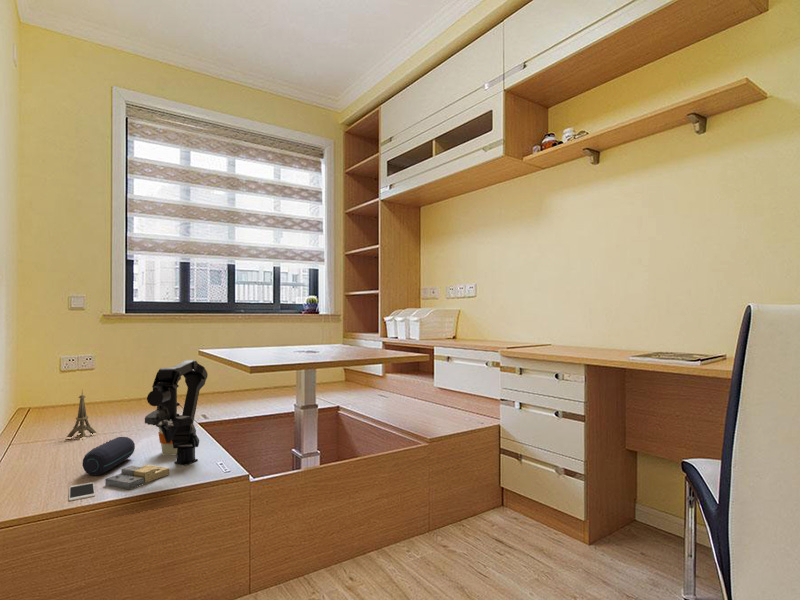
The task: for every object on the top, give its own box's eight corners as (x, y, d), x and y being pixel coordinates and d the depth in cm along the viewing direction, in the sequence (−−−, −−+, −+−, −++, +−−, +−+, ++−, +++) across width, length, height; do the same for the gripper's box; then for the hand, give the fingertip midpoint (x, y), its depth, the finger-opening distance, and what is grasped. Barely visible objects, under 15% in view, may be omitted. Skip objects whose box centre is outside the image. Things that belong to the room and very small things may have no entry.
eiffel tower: (99, 434, 239) (99, 385, 240) (83, 440, 228) (83, 389, 229) (80, 434, 240) (80, 385, 241) (63, 439, 229) (64, 389, 230)
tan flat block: (146, 470, 180) (146, 460, 180) (169, 473, 176) (169, 463, 176) (121, 479, 171) (121, 468, 171) (144, 483, 166) (144, 472, 166)
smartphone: (68, 502, 151) (68, 499, 151) (69, 488, 163) (69, 485, 164) (95, 497, 155) (95, 494, 155) (93, 484, 168) (93, 481, 168)
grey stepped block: (131, 476, 174) (131, 465, 174) (154, 480, 170) (154, 469, 170) (105, 485, 165) (105, 474, 165) (129, 489, 160) (129, 478, 160)
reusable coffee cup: (150, 454, 201) (151, 420, 202) (174, 447, 213) (174, 414, 214) (173, 457, 197) (173, 421, 198) (195, 449, 209) (195, 415, 209)
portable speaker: (113, 458, 197) (113, 434, 198) (137, 457, 198) (137, 434, 198) (76, 479, 172) (77, 451, 173) (104, 478, 173) (105, 450, 173)
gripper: (131, 403, 172) (131, 446, 172) (168, 406, 165) (168, 451, 165) (157, 398, 183) (157, 438, 182) (193, 401, 175) (193, 442, 175)
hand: (168, 442), depth 176 cm, fingers closed
